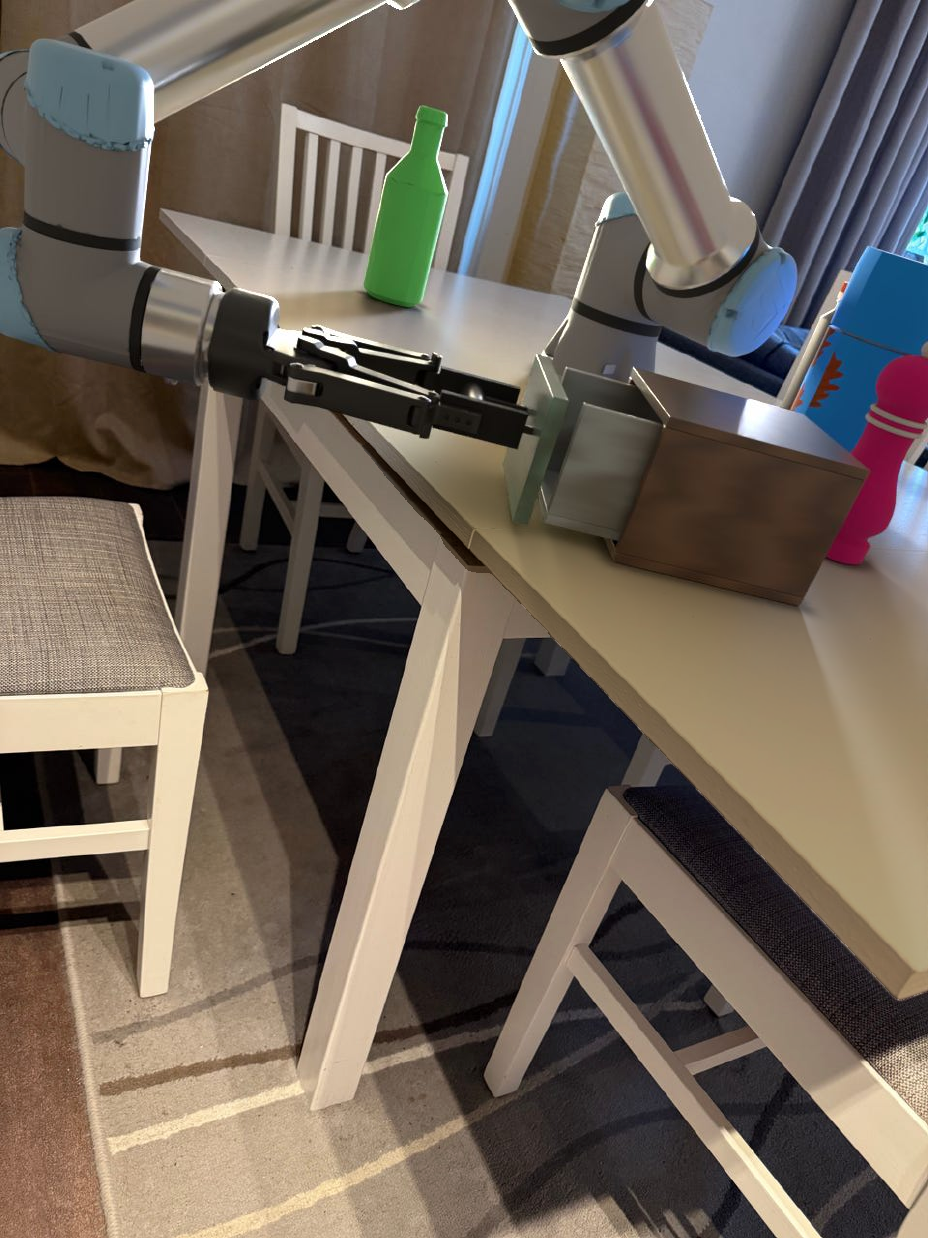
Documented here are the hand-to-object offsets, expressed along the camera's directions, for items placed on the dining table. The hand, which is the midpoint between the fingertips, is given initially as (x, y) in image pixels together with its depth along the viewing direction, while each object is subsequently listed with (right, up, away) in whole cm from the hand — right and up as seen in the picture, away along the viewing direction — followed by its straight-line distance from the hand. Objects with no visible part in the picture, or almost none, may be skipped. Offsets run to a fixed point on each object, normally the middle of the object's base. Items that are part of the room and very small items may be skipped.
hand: (518, 416), depth 69 cm
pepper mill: (+30, -9, +16) cm, 35 cm away
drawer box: (+14, -9, +6) cm, 18 cm away
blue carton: (+34, -2, +31) cm, 46 cm away
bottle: (-15, +31, +62) cm, 71 cm away
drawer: (+4, -6, +4) cm, 8 cm away
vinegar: (+44, +12, +61) cm, 76 cm away
